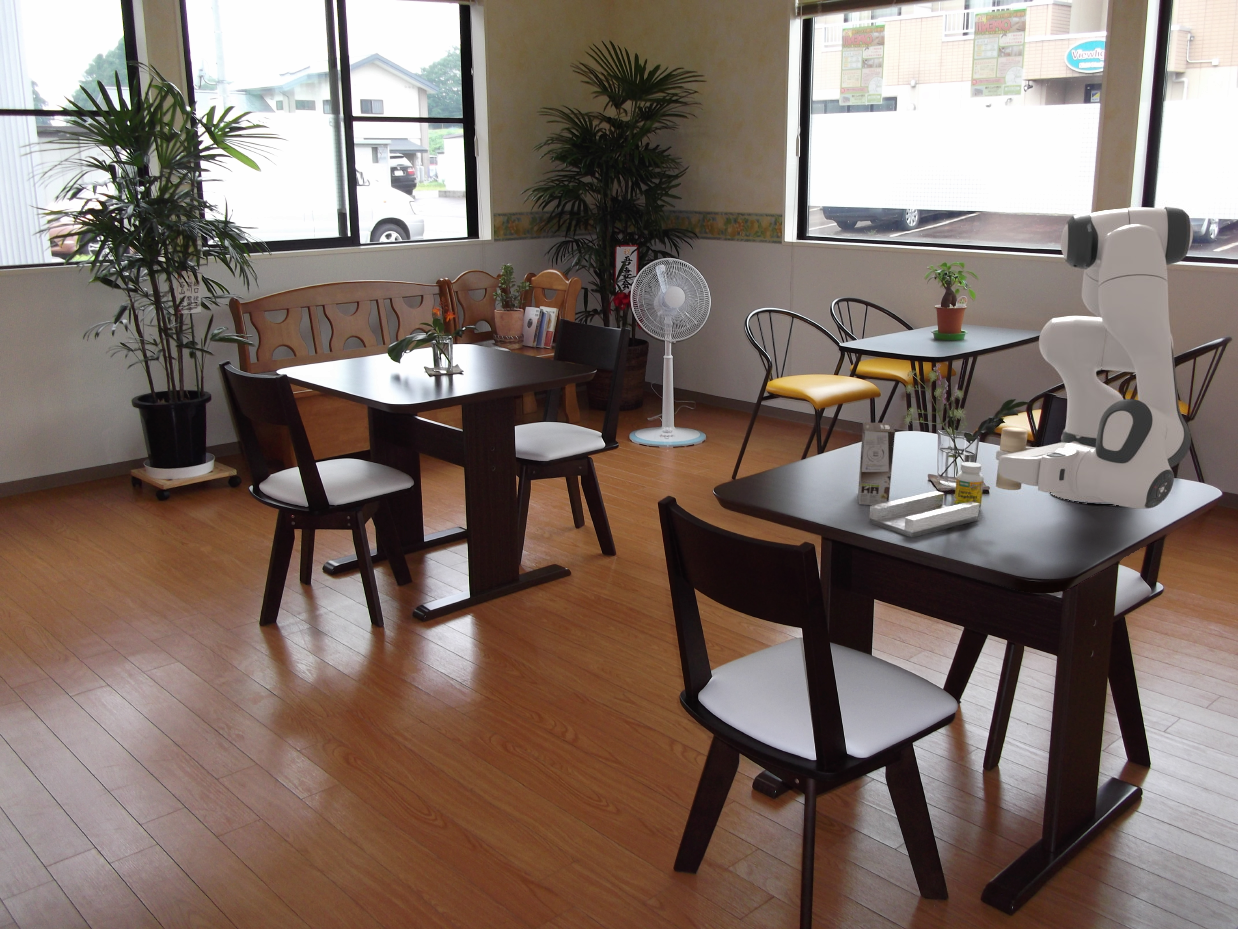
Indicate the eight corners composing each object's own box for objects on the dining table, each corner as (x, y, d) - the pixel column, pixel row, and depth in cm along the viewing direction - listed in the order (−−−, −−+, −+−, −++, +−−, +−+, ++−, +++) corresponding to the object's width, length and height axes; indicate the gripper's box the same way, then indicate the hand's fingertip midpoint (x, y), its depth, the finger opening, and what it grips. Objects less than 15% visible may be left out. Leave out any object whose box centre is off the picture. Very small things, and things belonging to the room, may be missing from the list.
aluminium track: (934, 506, 222) (935, 490, 222) (977, 520, 214) (979, 503, 213) (869, 522, 211) (870, 505, 210) (912, 537, 203) (913, 520, 202)
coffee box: (889, 507, 222) (895, 432, 218) (857, 504, 223) (863, 430, 219) (887, 495, 231) (893, 422, 226) (857, 493, 232) (862, 420, 228)
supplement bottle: (981, 506, 223) (986, 462, 221) (979, 513, 218) (984, 468, 216) (954, 503, 225) (959, 459, 223) (952, 510, 220) (957, 465, 218)
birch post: (1005, 482, 204) (1011, 426, 201) (1025, 487, 200) (1032, 431, 197) (990, 485, 201) (997, 429, 198) (1011, 491, 198) (1018, 433, 195)
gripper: (1109, 443, 194) (1042, 429, 205) (1044, 459, 182) (976, 442, 193) (1105, 477, 195) (1038, 460, 206) (1039, 494, 184) (972, 476, 195)
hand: (1007, 452), depth 200 cm, fingers closed on birch post, 4 cm apart
